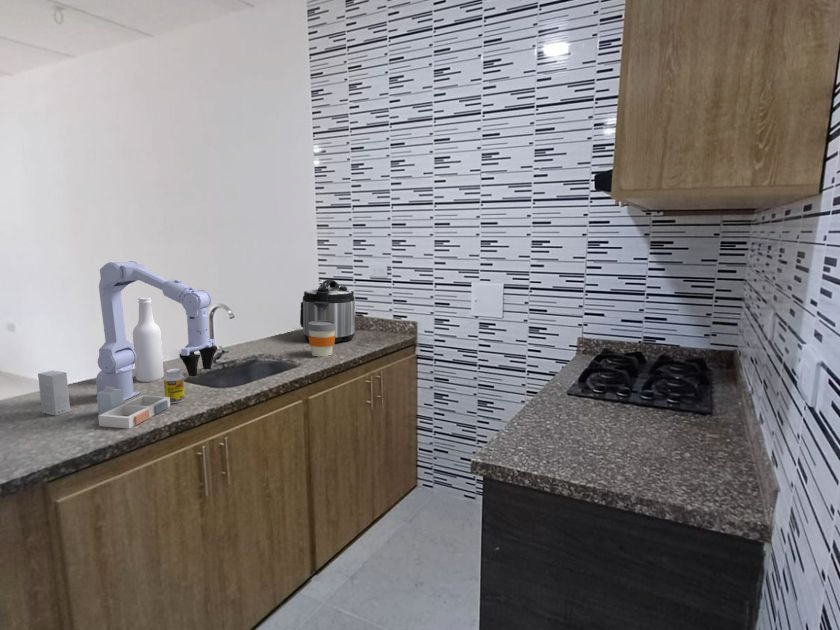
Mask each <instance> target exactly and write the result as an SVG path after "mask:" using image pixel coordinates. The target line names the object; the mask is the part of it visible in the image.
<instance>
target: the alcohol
mask: <svg viewBox="0 0 840 630" xmlns="http://www.w3.org/2000/svg"><path fill="white" fill-rule="evenodd" d="M137 300H138V321H137V324H136V325H135V327H134V328H133V330H132V344H133V349H134V351H135V353H136V356H137V359H136V362H135V363H134V369H135V373H134V374H135V379H136V380H137V382H140V383H152V382H157V381H159V380H161V379H163V377H165V376H164V358H163V343H162V342H163V340H162V339H163V338H162V331H161V328H160V326H159V325H158V323H156V322H155V320H154V313H153V307H152V302H153V301H152V298H151V297H149V296H148V297H147V296H146V297H143V296H142V297H138V299H137Z"/></svg>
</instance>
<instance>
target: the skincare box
mask: <svg viewBox="0 0 840 630" xmlns="http://www.w3.org/2000/svg"><path fill="white" fill-rule="evenodd" d="M67 375H68V374H67V372H65V371H61V370H60V371H58V370H49V371H43V372H40V373H38V374H37V377H38V386H39V397H40V398H39V399H40V407H41V413H42V414H45V413H46V415H50V416H54V415H55V417H56V416H61V415H63V414H66V413H69V412H71V406H70V405H71V404H70V396H69V395H70V394H69V386H68V376H67Z"/></svg>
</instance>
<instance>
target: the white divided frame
mask: <svg viewBox="0 0 840 630" xmlns="http://www.w3.org/2000/svg"><path fill="white" fill-rule="evenodd" d="M170 407H171V403H170V397H165V396H159V395H147V394H142V395H140V396H138V397H136V398H134V399H131V400H129V401H127V402H125V403H124V404H123V405H120V406H118V407H116V408H114V409H112V410H110V411H107V412H105V413H103V414H101V415H99V414H98V416H97V417H98V426H99V427H103V428H104V427H107V428H118V429H131V428H133V427H135V426H137V425H139V424H141V423H143V422H144V421H146V420H148V419H150V418H152V417H154V416H156V415H157V414H159V413H162V412H163V411H165V410H167V409H168V408H170Z"/></svg>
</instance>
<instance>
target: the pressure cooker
mask: <svg viewBox="0 0 840 630" xmlns="http://www.w3.org/2000/svg"><path fill="white" fill-rule="evenodd" d="M355 302H356V300H355V296H354V291H351V290H348V287H347V286H346V285H341V286H340V284H338V282H337V281H335V280H333V279H326V280H323V282H322V283H321V284H320V285H319V286H318V288H317V289H308V290H306V291H305V290H304V292H303V296H302V301H301V302H300V311H299V312H300V314H299V315H300V317H299V322H300V323H299V325H300V327H301V328H302V334H303V338H304V339H305V340H307V341H308V342H309V336H308V335H309V330H308V323H309V322H312V321H333V322H335V324H336V329H335V342H334V343H340V342H347V341H350V340H353V338H354V336H355V330H356V329H355V325H356V324H355V319H356V318H355V317H356V316H355V312H356V309H355V306H356V305H355V304H356V303H355Z"/></svg>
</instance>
